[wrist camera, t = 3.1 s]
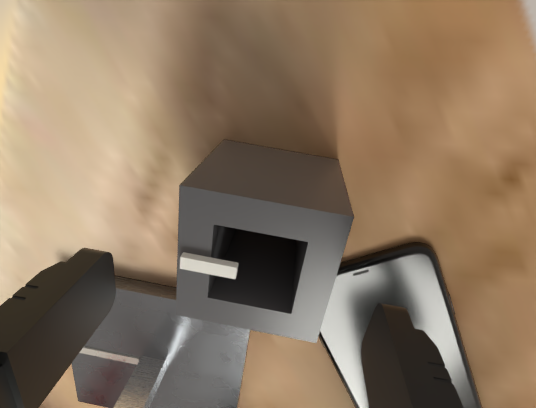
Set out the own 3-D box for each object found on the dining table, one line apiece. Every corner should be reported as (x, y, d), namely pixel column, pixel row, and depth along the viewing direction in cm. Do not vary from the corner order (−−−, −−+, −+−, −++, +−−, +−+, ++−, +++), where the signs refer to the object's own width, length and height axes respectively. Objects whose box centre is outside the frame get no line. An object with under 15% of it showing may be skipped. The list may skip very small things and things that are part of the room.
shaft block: (254, 303, 20) (234, 396, 14) (235, 420, 25) (215, 521, 20) (67, 266, 20) (-20, 343, 15) (86, 388, 26) (26, 478, 20)
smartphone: (484, 418, 23) (428, 232, 17) (491, 432, 22) (434, 241, 16) (372, 434, 25) (290, 273, 19) (374, 447, 24) (289, 283, 18)
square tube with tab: (338, 159, 16) (355, 221, 10) (314, 255, 18) (316, 349, 12) (223, 139, 16) (176, 188, 10) (215, 236, 18) (172, 320, 13)
